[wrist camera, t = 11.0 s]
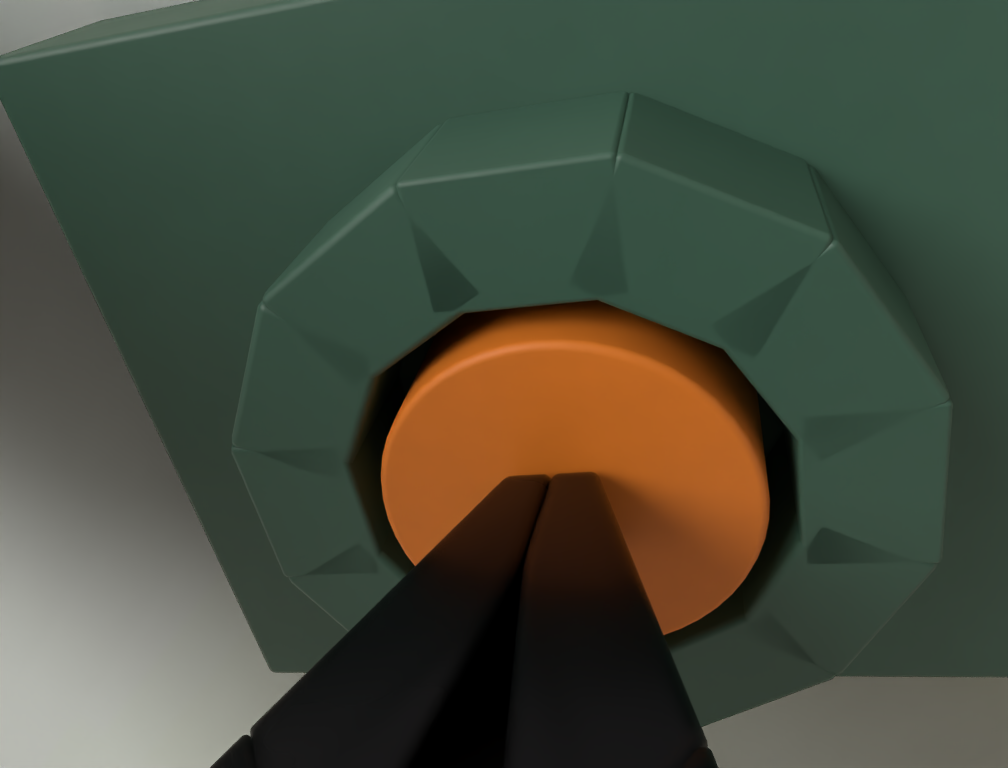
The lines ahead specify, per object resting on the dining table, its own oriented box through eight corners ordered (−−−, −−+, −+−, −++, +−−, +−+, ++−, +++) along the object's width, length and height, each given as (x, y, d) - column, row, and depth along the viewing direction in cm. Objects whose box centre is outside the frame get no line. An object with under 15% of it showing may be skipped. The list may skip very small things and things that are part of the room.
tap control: (319, 571, 15) (216, 783, 12) (99, 20, 11) (-166, 110, 7) (1036, 554, 12) (1162, 822, 9) (1139, -193, 8) (1462, -203, 5)
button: (462, 539, 11) (428, 650, 10) (387, 275, 9) (331, 361, 8) (765, 529, 10) (778, 649, 9) (748, 234, 8) (759, 324, 7)
